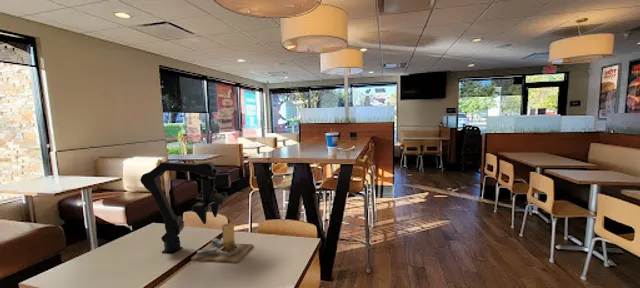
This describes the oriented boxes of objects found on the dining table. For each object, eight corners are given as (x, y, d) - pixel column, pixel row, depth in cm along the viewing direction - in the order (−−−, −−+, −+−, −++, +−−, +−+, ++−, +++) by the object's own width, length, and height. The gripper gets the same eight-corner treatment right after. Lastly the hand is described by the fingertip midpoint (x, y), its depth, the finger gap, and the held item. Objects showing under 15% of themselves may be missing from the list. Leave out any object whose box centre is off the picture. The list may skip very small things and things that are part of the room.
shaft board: (191, 260, 123) (190, 252, 122) (211, 244, 138) (210, 237, 138) (238, 263, 119) (237, 255, 119) (253, 246, 135) (252, 239, 134)
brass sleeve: (223, 254, 125) (221, 228, 124) (224, 249, 130) (222, 224, 129) (234, 252, 126) (233, 226, 125) (235, 247, 131) (234, 222, 130)
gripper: (213, 193, 123) (215, 228, 124) (233, 184, 141) (234, 214, 143) (190, 193, 125) (192, 227, 126) (212, 183, 143) (214, 213, 144)
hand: (210, 220), depth 135 cm, fingers open, 9 cm apart
